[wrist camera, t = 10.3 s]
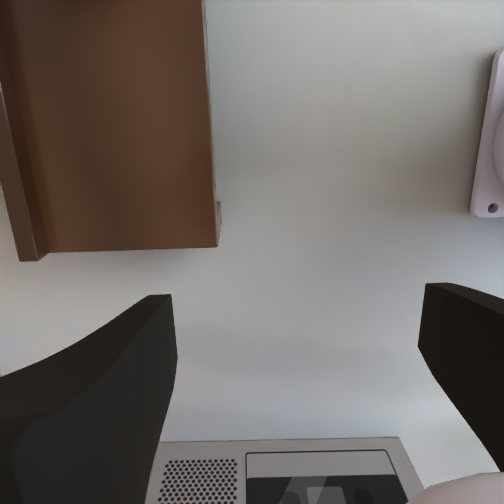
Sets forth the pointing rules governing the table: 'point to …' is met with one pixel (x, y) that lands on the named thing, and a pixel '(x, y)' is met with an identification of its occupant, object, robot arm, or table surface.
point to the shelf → (106, 126)
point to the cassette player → (283, 472)
